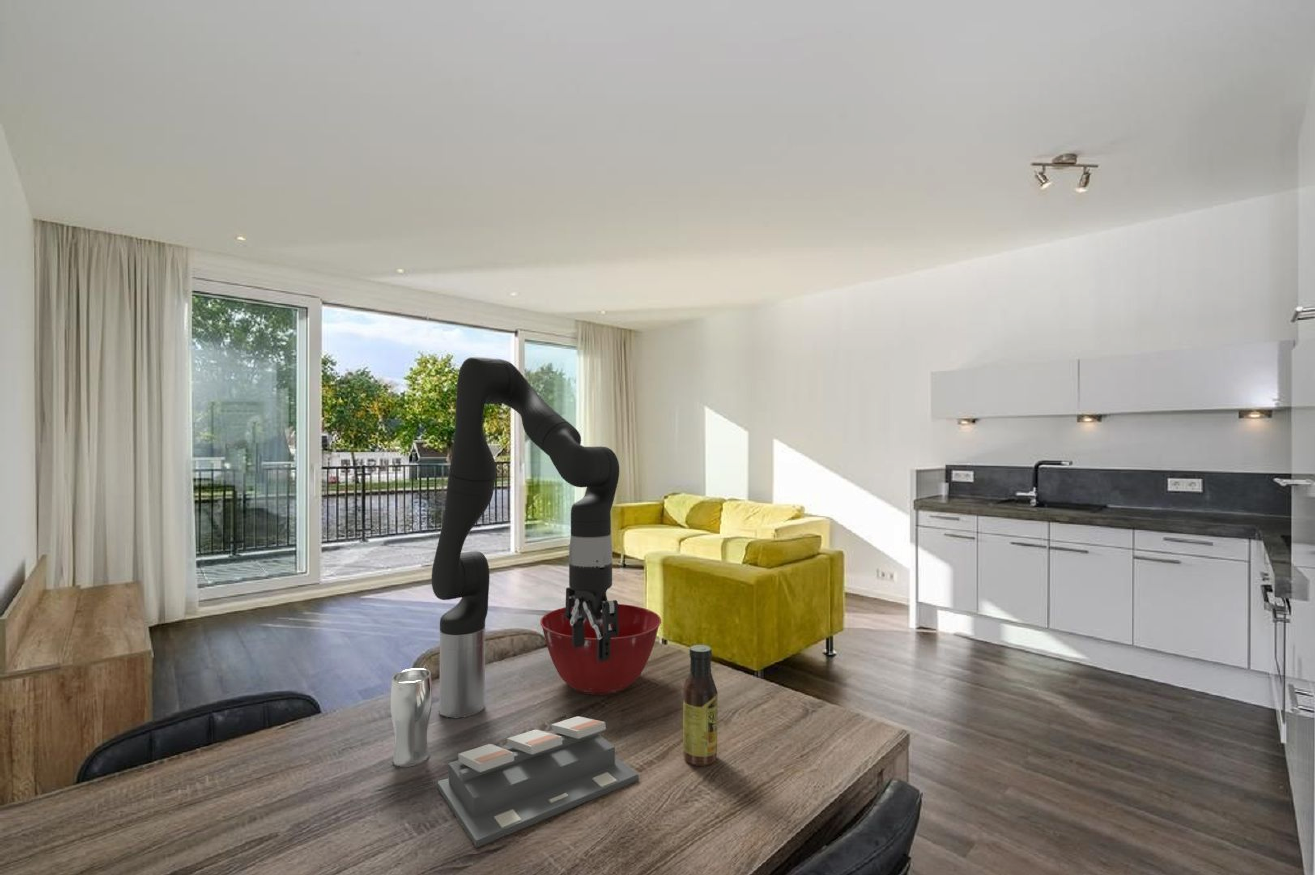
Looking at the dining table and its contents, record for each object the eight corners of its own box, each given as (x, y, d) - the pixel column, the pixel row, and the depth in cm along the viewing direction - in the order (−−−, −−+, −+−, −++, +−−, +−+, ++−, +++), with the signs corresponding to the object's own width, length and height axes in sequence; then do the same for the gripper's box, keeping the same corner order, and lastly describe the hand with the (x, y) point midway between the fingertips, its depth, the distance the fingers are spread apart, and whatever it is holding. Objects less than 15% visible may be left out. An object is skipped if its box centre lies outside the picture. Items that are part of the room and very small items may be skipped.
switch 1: (458, 761, 98) (458, 753, 98) (490, 751, 101) (490, 743, 102) (480, 772, 90) (479, 763, 91) (514, 760, 94) (513, 751, 94)
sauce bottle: (715, 770, 104) (715, 656, 104) (680, 766, 105) (680, 653, 105) (719, 750, 110) (719, 643, 110) (685, 747, 112) (686, 641, 112)
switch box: (437, 787, 98) (437, 756, 98) (584, 737, 115) (584, 710, 115) (476, 848, 84) (476, 811, 84) (638, 780, 101) (638, 749, 101)
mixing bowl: (611, 652, 161) (611, 595, 161) (685, 685, 140) (686, 619, 140) (517, 681, 142) (517, 616, 142) (587, 723, 121) (588, 647, 121)
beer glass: (440, 753, 109) (440, 671, 109) (409, 772, 103) (410, 685, 103) (412, 745, 112) (412, 665, 112) (381, 763, 105) (381, 678, 106)
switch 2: (507, 746, 103) (506, 737, 103) (536, 736, 106) (536, 728, 107) (531, 754, 95) (530, 746, 96) (562, 744, 99) (561, 736, 99)
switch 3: (551, 731, 108) (551, 724, 108) (578, 723, 112) (577, 715, 112) (578, 738, 101) (577, 730, 101) (605, 729, 104) (604, 721, 104)
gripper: (552, 556, 107) (552, 646, 107) (593, 570, 96) (593, 670, 96) (588, 552, 112) (588, 638, 112) (631, 564, 101) (631, 660, 100)
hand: (590, 653), depth 104 cm, fingers open, 8 cm apart
